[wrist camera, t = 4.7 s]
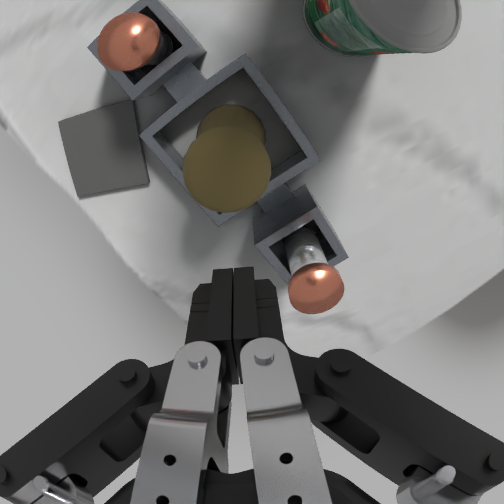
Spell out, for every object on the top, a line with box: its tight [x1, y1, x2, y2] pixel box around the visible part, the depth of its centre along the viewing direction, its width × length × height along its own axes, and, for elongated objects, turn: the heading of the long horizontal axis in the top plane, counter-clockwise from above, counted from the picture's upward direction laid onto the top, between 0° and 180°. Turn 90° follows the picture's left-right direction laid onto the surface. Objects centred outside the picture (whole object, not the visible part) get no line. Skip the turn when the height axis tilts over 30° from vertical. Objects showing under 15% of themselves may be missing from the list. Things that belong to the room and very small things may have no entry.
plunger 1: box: [97, 12, 173, 71], centre depth 17 cm, size 4×4×7 cm
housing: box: [87, 0, 349, 284], centre depth 23 cm, size 27×11×5 cm, turn 35°
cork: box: [182, 105, 271, 213], centre depth 21 cm, size 6×6×11 cm
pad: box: [58, 100, 150, 197], centre depth 25 cm, size 8×8×1 cm
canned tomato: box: [303, 0, 461, 57], centre depth 15 cm, size 8×8×11 cm
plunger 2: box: [284, 228, 344, 314], centre depth 24 cm, size 4×4×7 cm
